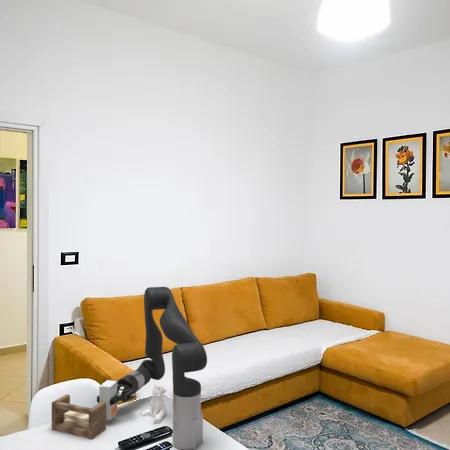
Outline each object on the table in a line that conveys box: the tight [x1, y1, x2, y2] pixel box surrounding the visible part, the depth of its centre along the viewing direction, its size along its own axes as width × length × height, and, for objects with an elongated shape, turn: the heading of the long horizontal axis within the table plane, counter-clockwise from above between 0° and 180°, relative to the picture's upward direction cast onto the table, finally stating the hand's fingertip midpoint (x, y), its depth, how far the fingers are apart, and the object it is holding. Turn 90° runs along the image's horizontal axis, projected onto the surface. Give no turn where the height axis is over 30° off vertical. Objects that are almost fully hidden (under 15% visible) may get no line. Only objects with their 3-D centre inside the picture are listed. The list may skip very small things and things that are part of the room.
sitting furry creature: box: [139, 384, 167, 425], centre depth 171 cm, size 10×9×12 cm
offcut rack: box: [51, 394, 107, 440], centre depth 159 cm, size 17×8×10 cm, turn 69°
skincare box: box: [98, 379, 118, 421], centre depth 165 cm, size 6×4×12 cm
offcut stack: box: [63, 411, 89, 430], centre depth 160 cm, size 12×5×5 cm, turn 69°
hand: (104, 401), depth 162 cm, fingers closed on skincare box, 4 cm apart
